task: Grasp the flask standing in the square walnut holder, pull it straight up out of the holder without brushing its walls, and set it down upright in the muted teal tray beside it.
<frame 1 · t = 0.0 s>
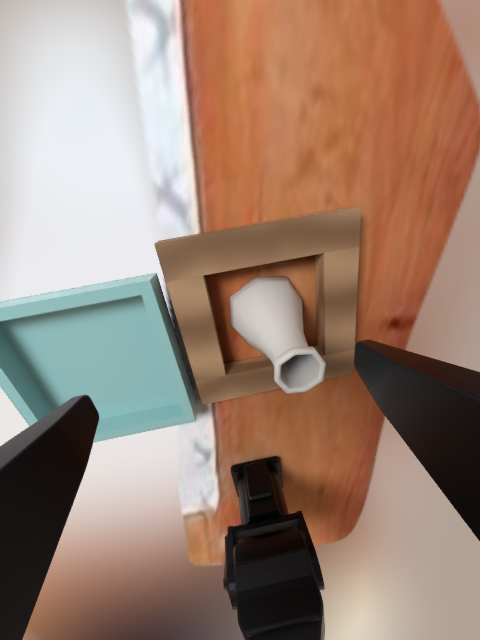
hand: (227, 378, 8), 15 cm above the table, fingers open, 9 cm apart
walnut holder: (265, 311, 23), on the table
flask: (265, 310, 24), on the table
teal tray: (103, 361, 24), on the table
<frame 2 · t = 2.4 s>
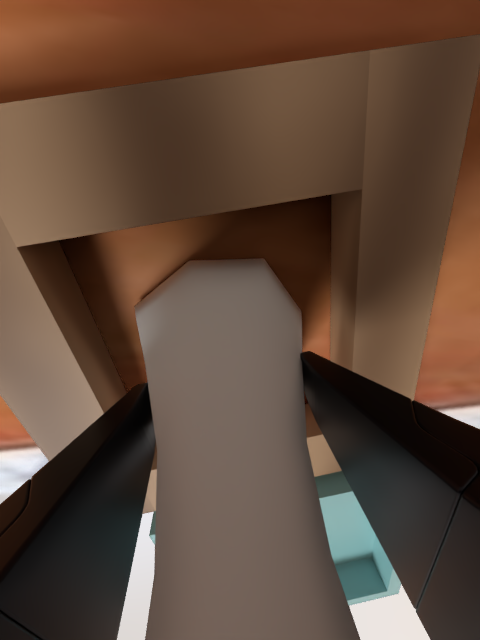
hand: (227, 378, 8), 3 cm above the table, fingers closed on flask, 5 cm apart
walnut holder: (222, 336, 11), on the table
flask: (222, 334, 11), on the table, touching gripper
teal tray: (289, 525, 18), on the table
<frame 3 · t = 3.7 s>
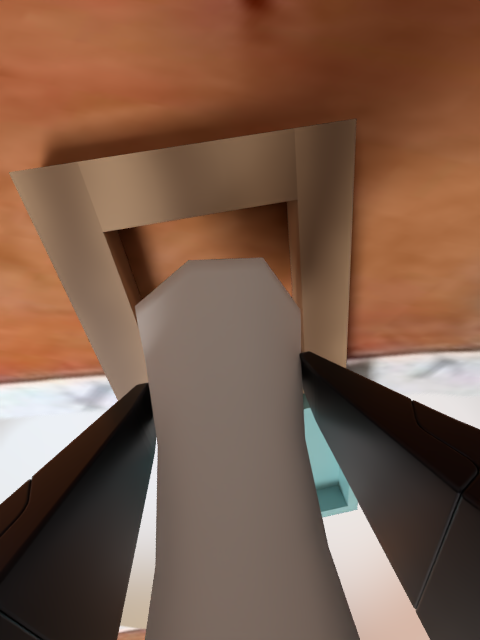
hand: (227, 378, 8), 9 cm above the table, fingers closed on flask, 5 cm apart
walnut holder: (219, 295, 16), on the table
flask: (222, 333, 11), point 6 cm above the table, touching gripper
teal tray: (271, 453, 23), on the table
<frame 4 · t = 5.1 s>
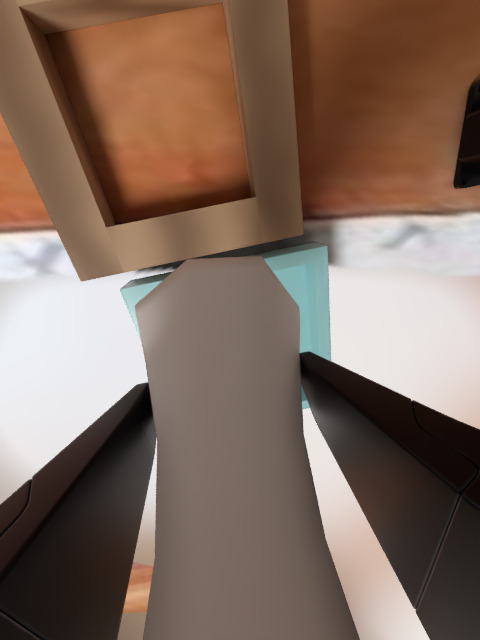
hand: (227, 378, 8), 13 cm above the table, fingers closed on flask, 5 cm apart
walnut holder: (163, 128, 15), on the table
flask: (222, 331, 11), point 10 cm above the table, touching gripper
teal tray: (240, 340, 22), on the table
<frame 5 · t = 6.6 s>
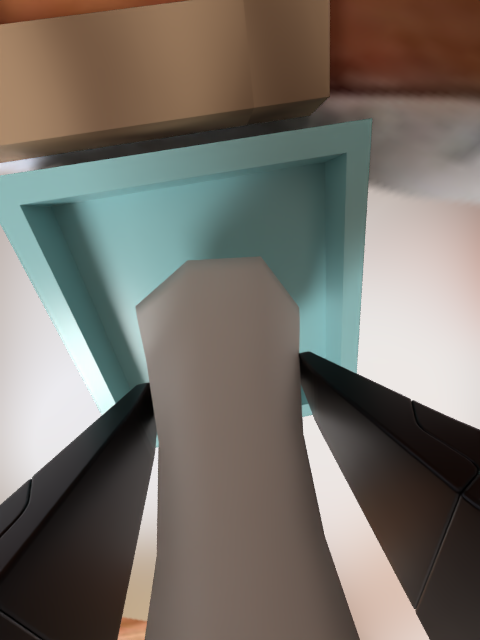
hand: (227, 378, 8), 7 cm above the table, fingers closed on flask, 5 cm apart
flask: (222, 332, 11), point 4 cm above the table, touching gripper
teal tray: (217, 307, 14), on the table
when the fingers open (4 cm above the table, at t = 7.9 s): flask stays where it is, resting on teal tray.
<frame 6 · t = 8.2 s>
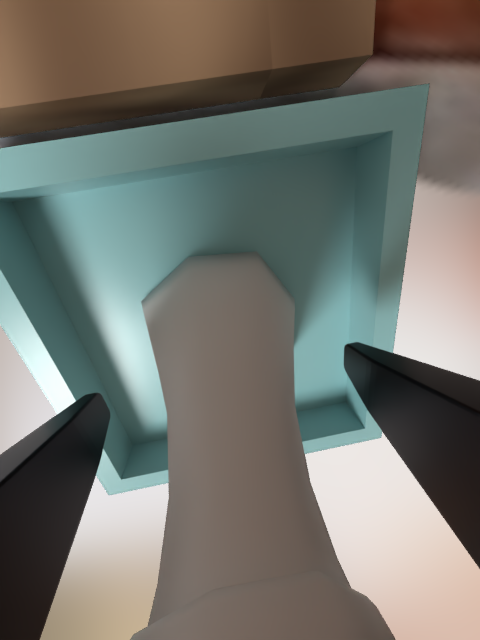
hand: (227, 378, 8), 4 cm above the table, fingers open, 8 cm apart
flask: (222, 324, 12), resting on teal tray
teal tray: (220, 323, 12), on the table
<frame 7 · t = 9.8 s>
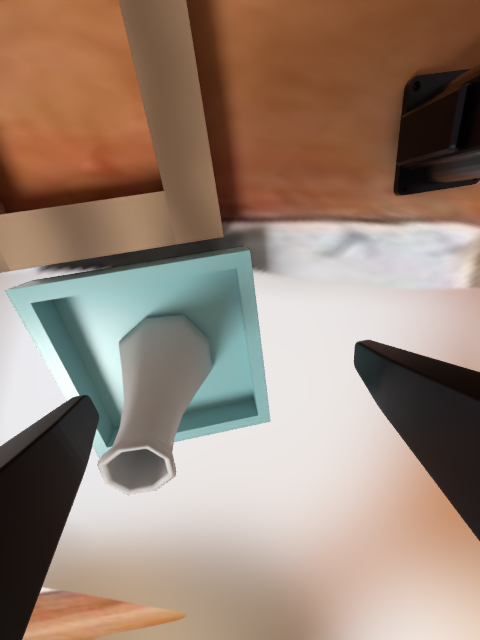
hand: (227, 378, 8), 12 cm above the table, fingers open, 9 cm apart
walnut holder: (55, 106, 13), on the table
flask: (169, 352, 20), resting on teal tray
teal tray: (168, 351, 20), on the table
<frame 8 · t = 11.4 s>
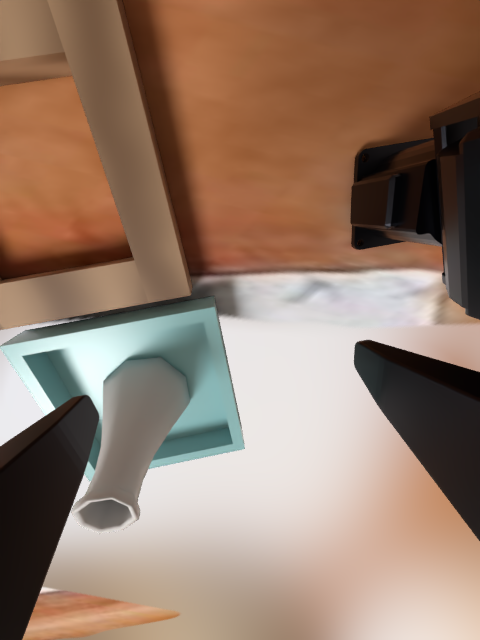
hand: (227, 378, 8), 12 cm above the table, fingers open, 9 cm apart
walnut holder: (38, 189, 15), on the table
flask: (150, 388, 22), resting on teal tray
teal tray: (149, 386, 22), on the table
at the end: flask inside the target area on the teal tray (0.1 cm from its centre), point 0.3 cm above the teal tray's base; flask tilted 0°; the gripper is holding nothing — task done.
